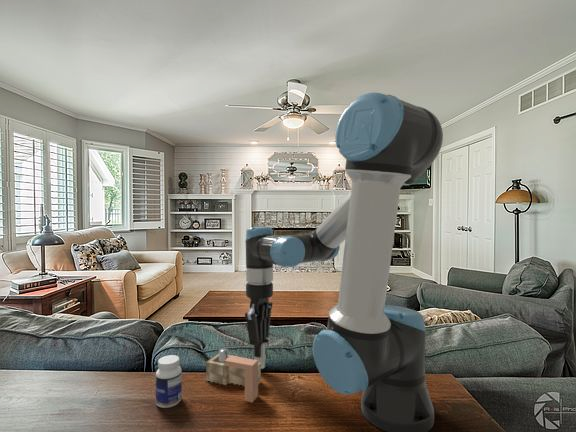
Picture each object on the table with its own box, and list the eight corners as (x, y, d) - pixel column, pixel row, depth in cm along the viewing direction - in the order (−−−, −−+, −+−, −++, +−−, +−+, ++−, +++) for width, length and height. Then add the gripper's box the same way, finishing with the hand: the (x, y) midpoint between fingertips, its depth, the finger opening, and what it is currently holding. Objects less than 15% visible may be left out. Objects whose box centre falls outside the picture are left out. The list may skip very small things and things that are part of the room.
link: (262, 379, 86) (262, 360, 86) (252, 390, 80) (252, 370, 80) (219, 371, 91) (219, 353, 91) (206, 381, 85) (206, 362, 85)
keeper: (258, 395, 78) (258, 360, 78) (252, 402, 75) (252, 365, 75) (230, 390, 81) (230, 355, 81) (224, 396, 78) (224, 360, 78)
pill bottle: (151, 402, 76) (151, 359, 76) (174, 392, 80) (174, 351, 80) (162, 412, 72) (162, 367, 72) (186, 401, 76) (186, 358, 76)
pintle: (229, 376, 87) (229, 349, 87) (224, 381, 85) (224, 352, 85) (221, 375, 88) (221, 347, 88) (217, 379, 86) (217, 351, 86)
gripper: (257, 277, 98) (257, 355, 98) (235, 285, 86) (235, 375, 85) (280, 278, 95) (280, 359, 95) (261, 288, 83) (261, 380, 83)
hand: (259, 366), depth 90 cm, fingers closed
